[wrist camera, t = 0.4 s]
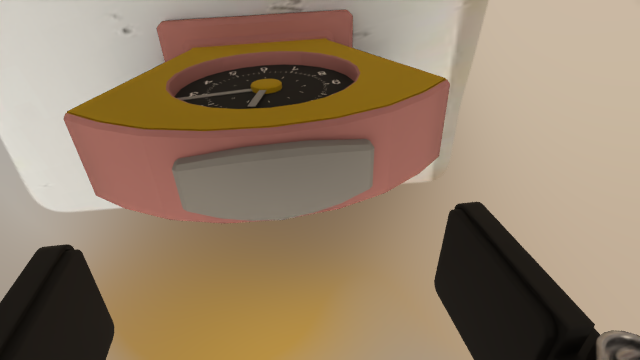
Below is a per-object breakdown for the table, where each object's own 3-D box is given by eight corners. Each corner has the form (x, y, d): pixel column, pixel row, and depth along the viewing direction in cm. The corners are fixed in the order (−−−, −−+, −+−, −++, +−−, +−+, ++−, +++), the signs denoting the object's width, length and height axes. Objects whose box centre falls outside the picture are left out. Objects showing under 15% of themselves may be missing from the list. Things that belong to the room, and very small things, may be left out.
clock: (377, 7, 34) (522, 71, 16) (373, 103, 39) (481, 235, 21) (126, 22, 32) (-33, 120, 14) (155, 123, 37) (67, 294, 19)
